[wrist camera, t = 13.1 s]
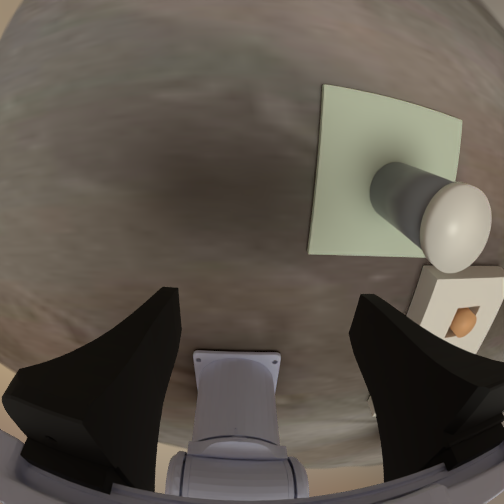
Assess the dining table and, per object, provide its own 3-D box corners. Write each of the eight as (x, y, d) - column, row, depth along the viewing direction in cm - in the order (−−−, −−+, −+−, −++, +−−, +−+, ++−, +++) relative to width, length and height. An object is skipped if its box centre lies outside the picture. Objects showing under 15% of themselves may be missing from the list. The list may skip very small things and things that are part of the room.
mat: (434, 255, 22) (437, 257, 21) (307, 251, 21) (308, 254, 21) (458, 120, 17) (462, 120, 16) (322, 85, 16) (324, 84, 16)
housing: (439, 386, 31) (446, 398, 29) (367, 401, 30) (372, 416, 28) (499, 265, 23) (512, 276, 21) (423, 265, 22) (437, 279, 20)
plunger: (458, 321, 25) (469, 335, 22) (440, 324, 25) (451, 339, 22) (467, 300, 23) (480, 313, 21) (450, 301, 23) (462, 316, 21)
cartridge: (418, 220, 20) (481, 268, 13) (365, 223, 20) (420, 278, 13) (423, 160, 18) (496, 187, 11) (367, 158, 18) (434, 184, 11)
